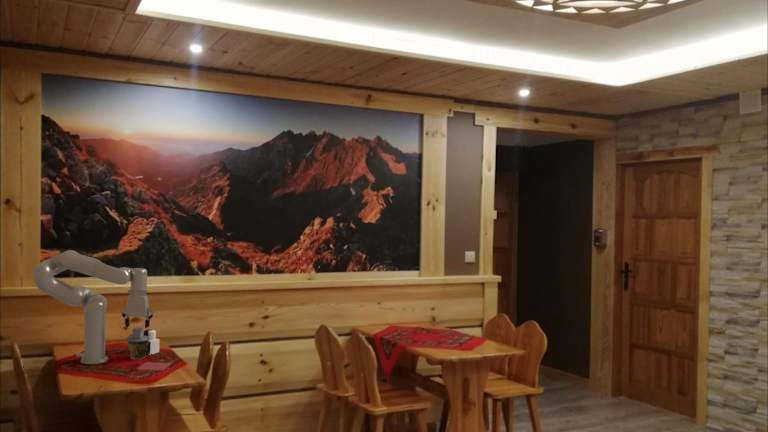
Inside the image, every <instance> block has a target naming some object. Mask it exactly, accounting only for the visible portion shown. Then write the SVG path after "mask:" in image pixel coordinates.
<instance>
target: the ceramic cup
mask: <svg viewBox="0 0 768 432" xmlns="http://www.w3.org/2000/svg"><path fill="white" fill-rule="evenodd" d="M148 341H149V340H148ZM148 341H144V342H128V341H127V345H128V350H129V357H130V360H136V361H137V360H138V361H139V360H143V359H145V357H146V349H147V345H148Z"/></svg>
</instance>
